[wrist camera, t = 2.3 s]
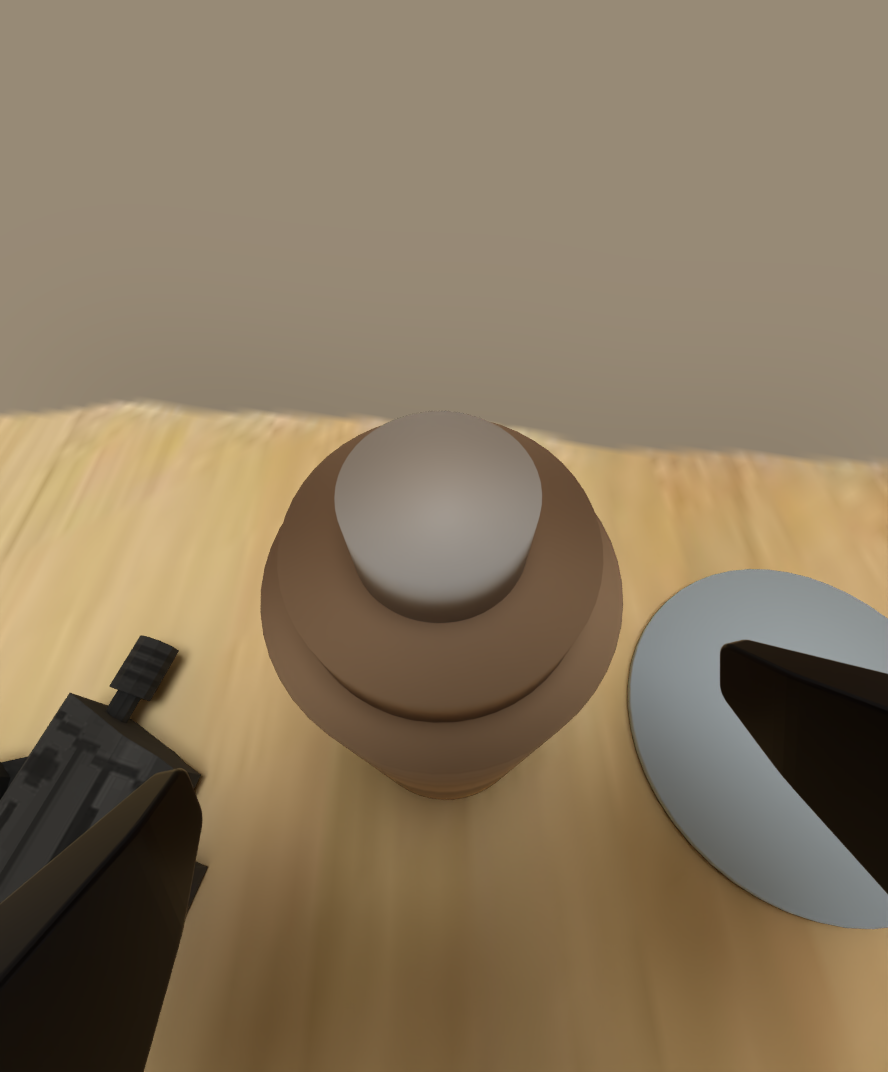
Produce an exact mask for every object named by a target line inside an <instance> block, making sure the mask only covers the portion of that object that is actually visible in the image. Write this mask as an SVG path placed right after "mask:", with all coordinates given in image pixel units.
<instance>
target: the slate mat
mask: <svg viewBox="0 0 888 1072" xmlns="http://www.w3.org/2000/svg"><path fill="white" fill-rule="evenodd" d="M739 640H752V641H756V642H760V643H764V644H768V645H772V646H776V647H780V648H784V649H788V650H793V651H797V652H801V653H805V654H809V655H813V656H817V657H821V658H825V659H830V660H834V661H838V662H842V663H846V664H850V665H854V666H858V667H862V668H866V669H871V670H875V671H879V672H883V673H887V674H888V619H887V618H886V617H884V616H883V615H882V614H880V613H879V612H877V611H876V610H875V609H873V608H872V607H870V606H869V605H867V604H865V603H864V602H862V601H860V600H858V599H857V598H855V597H853V596H851V595H850V594H848V593H846V592H843V591H841V590H839V589H837V588H835V587H833V586H831V585H828V584H825V583H823V582H820V581H817V580H814V579H811V578H809V577H805V576H800V575H796V574H792V573H788V572H781V571H774V570H760V569H746V570H736V571H728V572H724V573H720V574H715V575H712V576H709V577H706V578H704V579H701V580H699V581H696V582H694V583H693V584H691V585H689V586H687V587H685V588H684V589H682V590H681V591H679V592H678V593H677V594H675V595H674V596H673V597H672V598H670V599H669V600H668V601H667V602H666V603H665V604H664V605H663V606H662V607H661V608H660V609H659V610H658V612H657V613H656V614H655V615H654V616H653V617H652V619H651V620H650V622H649V623H648V625H647V626H646V628H645V629H644V631H643V633H642V635H641V637H640V639H639V641H638V643H637V646H636V648H635V651H634V655H633V658H632V662H631V666H630V673H629V680H628V712H629V720H630V727H631V732H632V736H633V740H634V744H635V748H636V751H637V754H638V757H639V760H640V762H641V765H642V767H643V770H644V773H645V775H646V777H647V779H648V781H649V783H650V785H651V787H652V789H653V791H654V793H655V795H656V797H657V799H658V800H659V802H660V803H661V805H662V806H663V808H664V810H665V811H666V813H667V814H668V816H669V817H670V819H671V820H672V822H673V823H674V824H675V826H676V827H677V828H678V829H679V830H680V832H681V833H682V834H683V835H684V837H685V838H686V839H687V840H688V841H689V843H690V844H691V845H692V846H693V847H694V848H695V849H696V850H697V851H698V852H699V853H700V854H701V855H702V856H703V857H704V858H705V859H706V860H707V861H708V862H709V863H710V864H711V865H712V866H714V867H715V868H716V869H717V870H719V871H720V872H721V873H722V874H724V875H725V876H726V877H727V878H728V879H730V880H731V881H732V882H733V883H735V884H736V885H738V886H740V887H741V888H743V889H744V890H746V891H747V892H749V893H751V894H752V895H754V896H755V897H757V898H758V899H760V900H762V901H765V902H767V903H769V904H771V905H773V906H775V907H777V908H779V909H781V910H783V911H785V912H788V913H791V914H794V915H797V916H800V917H803V918H806V919H809V920H812V921H816V922H819V923H824V924H829V925H834V926H840V927H845V928H860V929H878V928H886V927H888V894H887V893H886V892H885V891H884V890H883V889H882V887H881V886H880V885H879V884H878V883H877V882H876V881H875V880H874V879H873V877H872V876H871V875H870V874H869V873H868V872H867V871H866V870H865V869H864V867H863V866H862V865H861V864H860V863H859V862H858V861H857V860H856V858H855V857H854V856H853V855H852V854H851V853H850V852H849V851H848V850H847V848H846V847H845V846H844V845H843V844H842V843H841V842H840V841H839V840H838V838H837V837H836V836H835V835H834V834H833V833H832V832H831V831H830V830H829V828H828V827H827V826H826V825H825V824H824V823H823V822H822V821H821V819H820V818H819V817H818V816H817V815H816V814H815V813H814V812H813V811H812V809H811V808H810V807H809V806H808V805H807V804H806V803H805V802H804V801H803V799H802V798H801V797H800V796H799V795H798V794H797V793H796V792H795V791H794V789H793V788H792V787H791V786H790V785H789V784H788V782H787V781H786V780H785V779H784V778H783V777H782V775H781V774H780V773H779V772H778V770H777V769H776V768H775V766H774V765H773V764H772V763H771V761H770V760H769V759H768V757H767V756H766V755H765V753H764V752H763V751H762V749H761V748H760V747H759V745H758V744H757V742H756V741H755V740H754V738H753V737H752V736H751V734H750V733H749V732H748V730H747V729H746V728H745V726H744V725H743V724H742V722H741V721H740V720H739V718H738V717H737V716H736V714H735V713H734V712H733V710H732V709H731V708H730V706H729V705H728V704H727V702H726V701H725V699H724V697H723V695H722V693H721V689H720V650H721V647H722V646H723V645H724V644H726V643H731V642H735V641H739Z"/></svg>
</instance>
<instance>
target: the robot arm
mask: <svg viewBox="0 0 888 1072" xmlns="http://www.w3.org/2000/svg"><path fill="white" fill-rule="evenodd" d="M720 689H721V693H722V695H723V697H724V699H725V701H726V702H727V704H728V705H729V706H730V708H731V709H732V710H733V712H734V713H735V714H736V716H737V717H738V718H739V720H740V721H741V722H742V724H743V725H744V726H745V728H746V729H747V730H748V732H749V733H750V734H751V736H752V737H753V738H754V740H755V741H756V742H757V744H758V745H759V747H760V748H761V749H762V751H763V752H764V753H765V755H766V756H767V757H768V759H769V760H770V761H771V763H772V764H773V765H774V766H775V768H776V769H777V770H778V772H779V773H780V774H781V775H782V777H783V778H784V779H785V780H786V781H787V782H788V784H789V785H790V786H791V787H792V788H793V789H794V791H795V792H796V793H797V794H798V795H799V796H800V797H801V798H802V799H803V801H804V802H805V803H806V804H807V805H808V806H809V807H810V808H811V809H812V811H813V812H814V813H815V814H816V815H817V816H818V817H819V818H820V819H821V821H822V822H823V823H824V824H825V825H826V826H827V827H828V828H829V830H830V831H831V832H832V833H833V834H834V835H835V836H836V837H837V838H838V840H839V841H840V842H841V843H842V844H843V845H844V846H845V847H846V848H847V850H848V851H849V852H850V853H851V854H852V855H853V856H854V857H855V858H856V860H857V861H858V862H859V863H860V864H861V865H862V866H863V867H864V869H865V870H866V871H867V872H868V873H869V874H870V875H871V876H872V877H873V879H874V880H875V881H876V882H877V883H878V884H879V885H880V886H881V887H882V889H883V890H884V891H885V892H886V893H887V894H888V674H887V673H883V672H879V671H875V670H871V669H866V668H862V667H858V666H854V665H850V664H846V663H842V662H838V661H834V660H830V659H825V658H821V657H817V656H813V655H809V654H805V653H801V652H797V651H793V650H788V649H784V648H780V647H776V646H772V645H768V644H764V643H760V642H756V641H752V640H739V641H735V642H731V643H726V644H724V645H723V646H722V647H721V650H720ZM201 828H202V811H201V807H200V804H199V801H198V799H197V796H196V793H195V791H194V788H193V785H192V783H191V780H190V777H189V775H188V773H187V772H186V771H185V770H184V769H182V768H177V769H173V770H169V771H164V772H160V773H157V774H154V775H153V776H152V777H150V778H149V779H148V780H147V781H146V782H145V783H143V784H142V785H141V786H140V787H139V788H137V789H136V790H135V791H134V792H133V793H131V794H130V795H129V796H128V797H127V798H125V799H124V800H123V801H122V802H121V803H119V804H118V805H117V806H116V807H115V808H114V809H112V810H111V811H110V812H109V813H108V814H106V815H105V816H104V817H103V818H102V819H100V820H99V821H98V822H97V823H96V824H94V825H93V826H92V827H91V828H90V829H88V830H87V831H86V832H85V833H84V834H83V835H81V836H80V837H79V838H78V839H77V840H75V841H74V842H73V843H72V844H71V845H69V846H68V847H67V848H66V849H65V850H63V851H62V852H61V853H60V854H59V855H58V856H56V857H55V858H54V859H53V860H52V861H50V862H49V863H48V864H47V865H46V866H44V867H43V868H42V869H41V870H40V871H38V872H37V873H36V874H35V875H34V876H32V877H31V878H30V879H29V880H28V881H27V882H25V883H24V884H23V885H22V886H21V887H19V888H18V889H17V890H16V891H15V892H13V893H12V894H11V895H10V896H9V897H7V898H6V899H5V900H4V901H3V902H1V903H0V1072H144V1069H145V1065H146V1061H147V1058H148V1054H149V1051H150V1047H151V1044H152V1040H153V1037H154V1033H155V1029H156V1026H157V1022H158V1019H159V1015H160V1012H161V1008H162V1004H163V1001H164V997H165V994H166V990H167V987H168V983H169V979H170V976H171V972H172V969H173V965H174V962H175V958H176V955H177V951H178V947H179V943H180V939H181V936H182V932H183V927H184V922H185V917H186V913H187V907H188V901H189V896H190V890H191V885H192V879H193V873H194V868H195V862H196V856H197V851H198V845H199V839H200V834H201Z"/></svg>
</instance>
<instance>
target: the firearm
mask: <svg viewBox="0 0 888 1072" xmlns="http://www.w3.org/2000/svg"><path fill="white" fill-rule="evenodd" d="M178 651H179V650H177V649H176V648H174V647H172V646H170V645H168V644H166V643H163V642H161V641H159V640H156V639H153V638H150V637H147V636H140V637H139V639H138V640H137V642H136V644H135V645H134V647H133V649H132V650H131V652H130V653H129V655H128V657H127V658H126V660H125V661H124V663H123V665H122V666H121V668H120V670H119V671H118V673H117V674H116V676H115V678H114V679H113V681H112V683H111V684H110V687H112V688H114V689H117V690H118V691H117V692H116V694H115V696H114V697H113V699H112V701H111V702H110V704H109V706H108V705H105V704H102V703H99V702H96V701H93V700H90V699H87V698H84V697H81V696H78V695H75V694H72V693H69V695H68V696H67V698H66V699H65V701H64V702H63V704H62V706H61V707H60V709H59V710H58V712H57V713H56V715H55V716H54V718H53V719H52V721H51V722H50V724H49V726H48V727H47V729H46V730H45V732H44V733H43V735H42V736H41V738H40V739H39V741H38V743H37V744H36V746H35V747H34V749H33V750H32V752H31V753H30V755H29V756H28V757H24V758H19V759H15V760H10V761H6V762H0V903H1V902H3V901H4V900H5V899H6V898H7V897H9V896H10V895H11V894H12V893H13V892H15V891H16V890H17V889H18V888H19V887H21V886H22V885H23V884H24V883H25V882H27V881H28V880H29V879H30V878H31V877H32V876H34V875H35V874H36V873H37V872H38V871H40V870H41V869H42V868H43V867H44V866H46V865H47V864H48V863H49V862H50V861H52V860H53V859H54V858H55V857H56V856H58V855H59V854H60V853H61V852H62V851H63V850H65V849H66V848H67V847H68V846H69V845H71V844H72V843H73V842H74V841H75V840H77V839H78V838H79V837H80V836H81V835H83V834H84V833H85V832H86V831H87V830H88V829H90V828H91V827H92V826H93V825H94V824H96V823H97V822H98V821H99V820H100V819H102V818H103V817H104V816H105V815H106V814H108V813H109V812H110V811H111V810H112V809H114V808H115V807H116V806H117V805H118V804H119V803H121V802H122V801H123V800H124V799H125V798H127V797H128V796H129V795H130V794H131V793H133V792H134V791H135V790H136V789H137V788H139V787H140V786H141V785H142V784H143V783H145V782H146V781H147V780H148V779H149V778H150V777H152V776H153V775H154V774H157V773H160V772H164V771H169V770H173V769H177V768H182V769H184V770H185V771H186V772H187V773H188V775H189V777H190V780H191V783H192V785H193V788H195V786H196V784H197V782H198V780H199V778H200V776H201V775H200V774H199V773H198V772H196V771H195V770H194V769H192V768H191V767H190V766H188V765H187V764H186V763H185V762H184V761H183V760H182V759H181V758H180V757H179V756H178V755H177V754H176V753H175V752H174V751H172V750H171V749H169V748H168V747H167V746H166V745H164V744H163V743H162V742H160V741H159V740H158V739H156V738H155V737H154V736H153V735H151V734H150V733H149V732H147V731H146V730H145V729H144V728H142V727H141V726H140V725H138V724H137V723H136V722H134V721H133V720H132V719H130V716H131V714H132V713H133V711H134V709H135V708H136V706H137V704H138V702H139V701H140V699H144V700H147V701H150V700H151V699H152V697H153V695H154V693H155V692H156V690H157V688H158V686H159V685H160V683H161V681H162V679H163V678H164V676H165V674H166V672H167V671H168V669H169V667H170V665H171V664H172V662H173V660H174V658H175V657H176V655H177V653H178ZM206 869H207V866H204V865H202V864H200V863H197V862H195V868H194V873H193V879H192V885H191V890H190V896H189V901H188V907H187V911H188V909H189V907H190V905H191V902H192V900H193V898H194V896H195V894H196V891H197V889H198V887H199V885H200V883H201V880H202V878H203V876H204V874H205V871H206Z"/></svg>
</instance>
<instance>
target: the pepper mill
mask: <svg viewBox="0 0 888 1072" xmlns="http://www.w3.org/2000/svg"><path fill="white" fill-rule="evenodd" d="M622 611H623V594H622V580H621V575H620V570H619V565H618V561H617V558H616V555H615V552H614V549H613V546H612V543H611V540H610V538H609V537H608V535H607V533H606V531H605V529H604V527H603V525H602V523H601V521H600V519H599V518H598V517H597V515H596V514H595V512H594V509H593V507H592V505H591V503H590V501H589V499H588V497H587V495H586V493H585V491H584V490H583V488H582V487H581V485H580V484H579V483H578V481H577V480H576V478H575V477H574V476H573V474H572V473H571V472H570V471H569V470H568V469H567V468H566V467H565V465H564V464H563V463H562V462H561V461H559V460H558V459H557V458H556V457H555V456H554V455H553V454H552V453H550V452H549V451H548V450H547V449H545V448H544V447H542V446H541V445H539V444H538V443H536V442H535V441H533V440H532V439H530V438H528V437H526V436H524V435H522V434H521V433H519V432H517V431H514V430H512V429H509V428H507V427H504V426H502V425H499V424H495V423H492V422H489V421H486V420H484V419H482V418H479V417H476V416H472V415H469V414H464V413H458V412H450V411H428V412H420V413H415V414H411V415H406V416H403V417H400V418H397V419H394V420H392V421H390V422H388V423H386V424H384V425H382V426H379V427H376V428H374V429H371V430H369V431H367V432H365V433H363V434H361V435H358V436H357V437H355V438H353V439H352V440H350V441H348V442H347V443H345V444H343V445H342V446H340V447H339V448H338V449H337V450H335V451H334V452H333V453H331V454H330V455H329V456H327V457H326V458H325V459H324V460H323V461H322V462H321V463H320V464H319V465H318V466H317V467H316V468H315V469H314V470H313V471H312V473H311V474H310V475H309V476H308V477H307V479H306V480H305V481H304V482H303V484H302V485H301V487H300V489H299V490H298V492H297V493H296V495H295V497H294V498H293V500H292V502H291V505H290V507H289V509H288V511H287V513H286V516H285V519H284V522H283V524H282V526H281V527H280V529H279V531H278V533H277V536H276V538H275V540H274V542H273V544H272V546H271V549H270V552H269V556H268V559H267V562H266V565H265V569H264V575H263V581H262V587H261V619H262V627H263V635H264V639H265V642H266V646H267V649H268V653H269V657H270V659H271V661H272V663H273V666H274V668H275V670H276V672H277V675H278V677H279V679H280V681H281V682H282V684H283V685H284V687H285V688H286V690H287V692H288V693H289V695H290V696H291V698H292V699H293V701H294V702H295V703H296V704H297V705H298V706H299V707H300V709H301V710H302V711H303V712H304V713H305V714H306V715H307V717H308V718H309V719H310V720H312V721H313V722H314V723H315V724H316V725H317V726H319V727H320V728H321V729H322V730H323V731H324V732H326V733H327V734H328V735H329V736H331V737H332V738H334V739H335V740H336V741H338V742H339V743H341V744H342V745H344V746H345V747H346V748H348V749H349V750H351V751H352V752H354V753H355V754H356V755H358V756H359V757H361V758H362V759H364V760H365V761H366V762H368V763H369V764H371V765H372V766H374V767H375V768H376V769H378V770H379V771H381V772H382V773H384V774H385V775H386V776H388V777H389V778H391V779H392V780H394V781H395V782H396V783H398V784H399V785H401V786H403V787H404V788H406V789H407V790H409V791H411V792H413V793H416V794H418V795H421V796H424V797H428V798H432V799H440V800H453V799H459V798H465V797H468V796H471V795H474V794H477V793H479V792H481V791H483V790H485V789H487V788H488V787H490V786H491V785H493V784H494V783H496V782H497V781H498V780H499V779H501V778H502V777H503V776H504V775H506V774H507V773H508V772H509V771H510V770H512V769H513V768H514V767H515V766H516V765H518V764H519V763H520V762H521V761H523V760H524V759H525V758H526V757H527V756H529V755H530V754H531V753H532V752H533V751H535V750H536V749H537V748H538V747H540V746H541V745H542V744H543V743H544V742H546V741H547V740H548V739H549V738H551V737H552V736H553V735H554V734H555V733H557V732H558V731H559V730H560V729H561V728H562V727H563V726H564V725H566V724H567V723H568V722H569V721H570V720H571V719H572V718H573V717H574V716H575V715H576V714H578V713H579V711H580V710H581V709H582V708H583V706H584V705H585V704H586V703H587V701H588V700H589V699H590V698H591V696H592V695H593V694H594V693H595V691H596V689H597V688H598V686H599V684H600V682H601V681H602V679H603V677H604V676H605V674H606V672H607V670H608V667H609V665H610V662H611V660H612V657H613V655H614V653H615V650H616V646H617V642H618V638H619V634H620V629H621V622H622Z"/></svg>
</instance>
